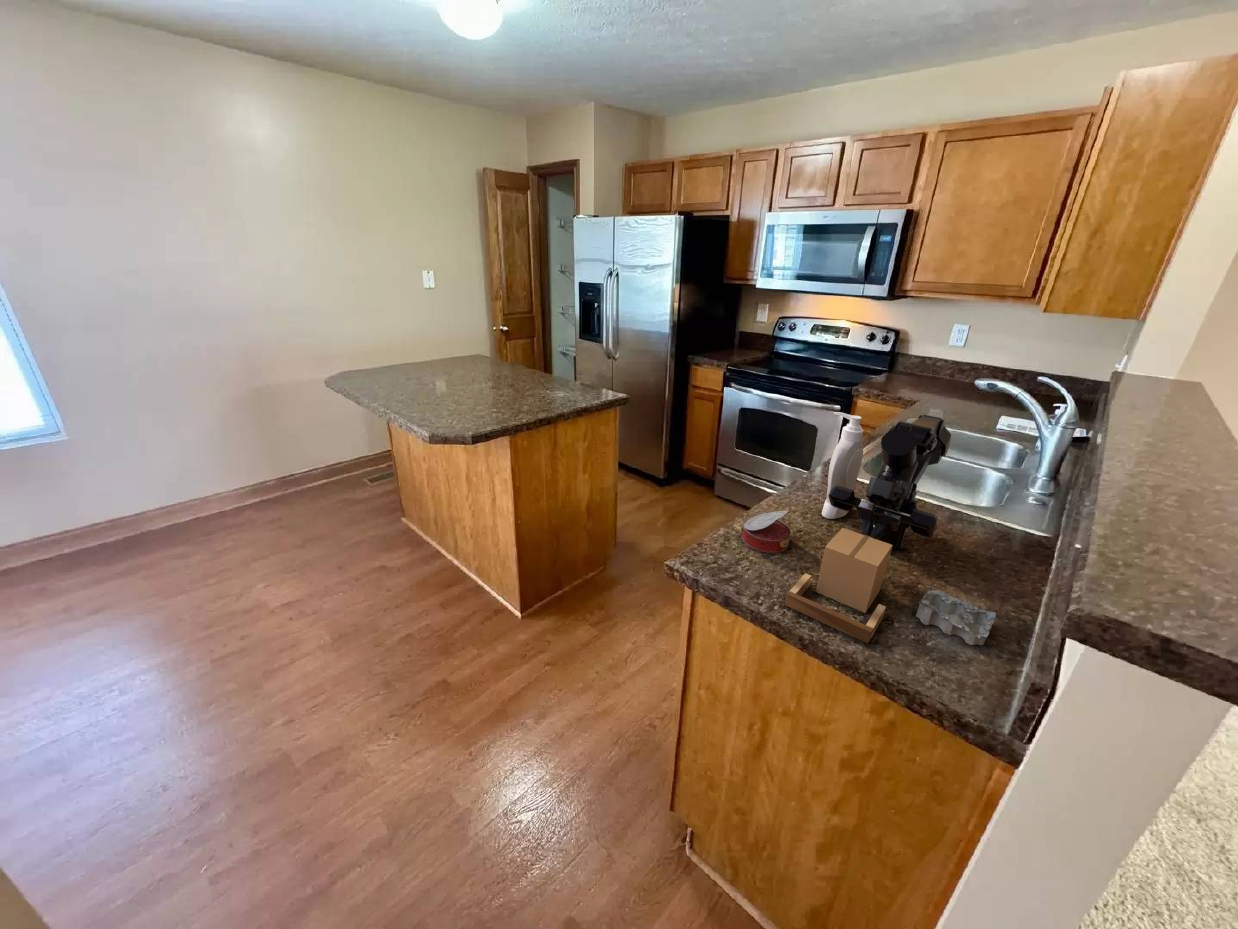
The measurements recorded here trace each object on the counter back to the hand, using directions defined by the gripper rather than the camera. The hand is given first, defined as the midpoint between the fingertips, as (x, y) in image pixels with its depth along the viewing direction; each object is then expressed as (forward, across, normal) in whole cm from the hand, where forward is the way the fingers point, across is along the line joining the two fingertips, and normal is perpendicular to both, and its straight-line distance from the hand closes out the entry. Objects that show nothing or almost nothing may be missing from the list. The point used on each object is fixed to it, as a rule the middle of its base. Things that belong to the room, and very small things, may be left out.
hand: (863, 549), depth 97 cm
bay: (+13, 0, -3) cm, 14 cm away
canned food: (+4, -20, +6) cm, 21 cm away
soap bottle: (-13, -14, +23) cm, 30 cm away
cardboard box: (+8, 0, +2) cm, 8 cm away
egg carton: (+6, +17, +4) cm, 18 cm away
